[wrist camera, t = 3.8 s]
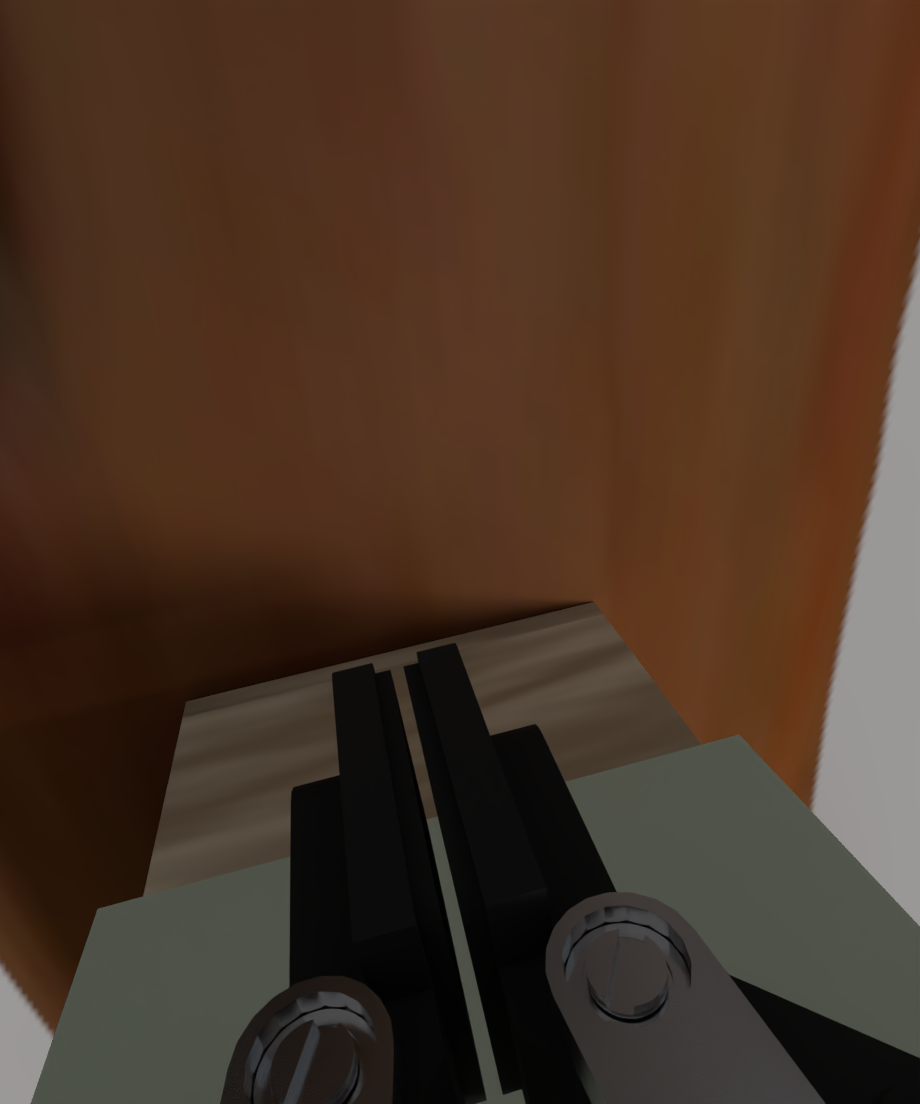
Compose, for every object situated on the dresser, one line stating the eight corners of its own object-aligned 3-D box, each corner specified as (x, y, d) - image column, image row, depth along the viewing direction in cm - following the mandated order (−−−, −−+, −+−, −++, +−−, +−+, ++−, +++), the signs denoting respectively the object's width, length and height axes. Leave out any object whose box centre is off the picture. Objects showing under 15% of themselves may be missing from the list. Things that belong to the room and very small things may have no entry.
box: (186, 701, 27) (133, 938, 19) (593, 601, 29) (724, 774, 20) (305, 997, 35) (308, 1261, 27) (619, 904, 37) (720, 1123, 28)
